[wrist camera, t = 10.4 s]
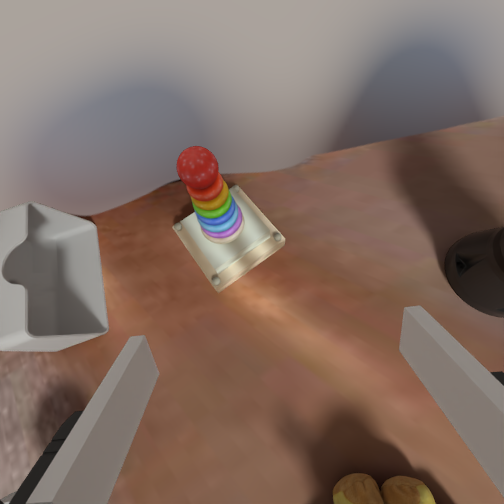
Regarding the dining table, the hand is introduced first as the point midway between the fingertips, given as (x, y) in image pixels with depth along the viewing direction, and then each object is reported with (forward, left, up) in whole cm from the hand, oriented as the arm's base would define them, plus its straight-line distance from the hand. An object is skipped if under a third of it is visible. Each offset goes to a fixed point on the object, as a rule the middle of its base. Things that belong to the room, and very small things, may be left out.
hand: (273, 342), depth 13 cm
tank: (+27, -35, -33) cm, 55 cm away
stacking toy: (-6, -22, -27) cm, 36 cm away
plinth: (-6, -22, -33) cm, 40 cm away
